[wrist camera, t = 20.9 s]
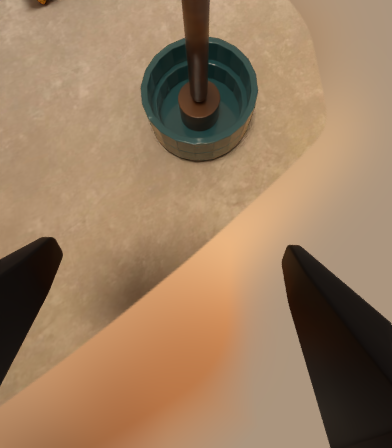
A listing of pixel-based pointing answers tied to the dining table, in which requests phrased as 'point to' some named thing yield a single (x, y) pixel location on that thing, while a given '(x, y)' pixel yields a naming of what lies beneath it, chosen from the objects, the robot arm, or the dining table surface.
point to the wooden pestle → (198, 70)
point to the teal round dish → (228, 109)
